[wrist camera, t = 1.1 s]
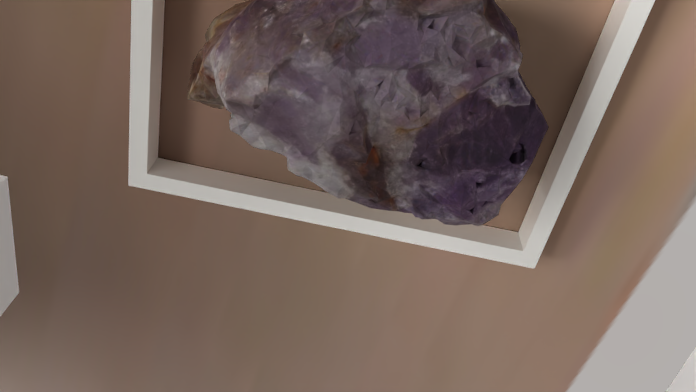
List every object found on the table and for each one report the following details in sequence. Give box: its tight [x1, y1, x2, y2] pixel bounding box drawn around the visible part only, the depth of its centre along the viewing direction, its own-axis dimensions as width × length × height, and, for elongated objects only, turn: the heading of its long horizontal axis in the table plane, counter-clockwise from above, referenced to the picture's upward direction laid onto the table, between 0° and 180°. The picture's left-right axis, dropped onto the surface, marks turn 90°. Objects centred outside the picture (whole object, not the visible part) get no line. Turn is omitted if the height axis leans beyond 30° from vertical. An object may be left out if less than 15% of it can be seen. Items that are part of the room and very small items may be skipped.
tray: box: [128, 0, 655, 269], centre depth 25 cm, size 19×17×2 cm
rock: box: [188, 0, 548, 226], centre depth 22 cm, size 12×9×10 cm
